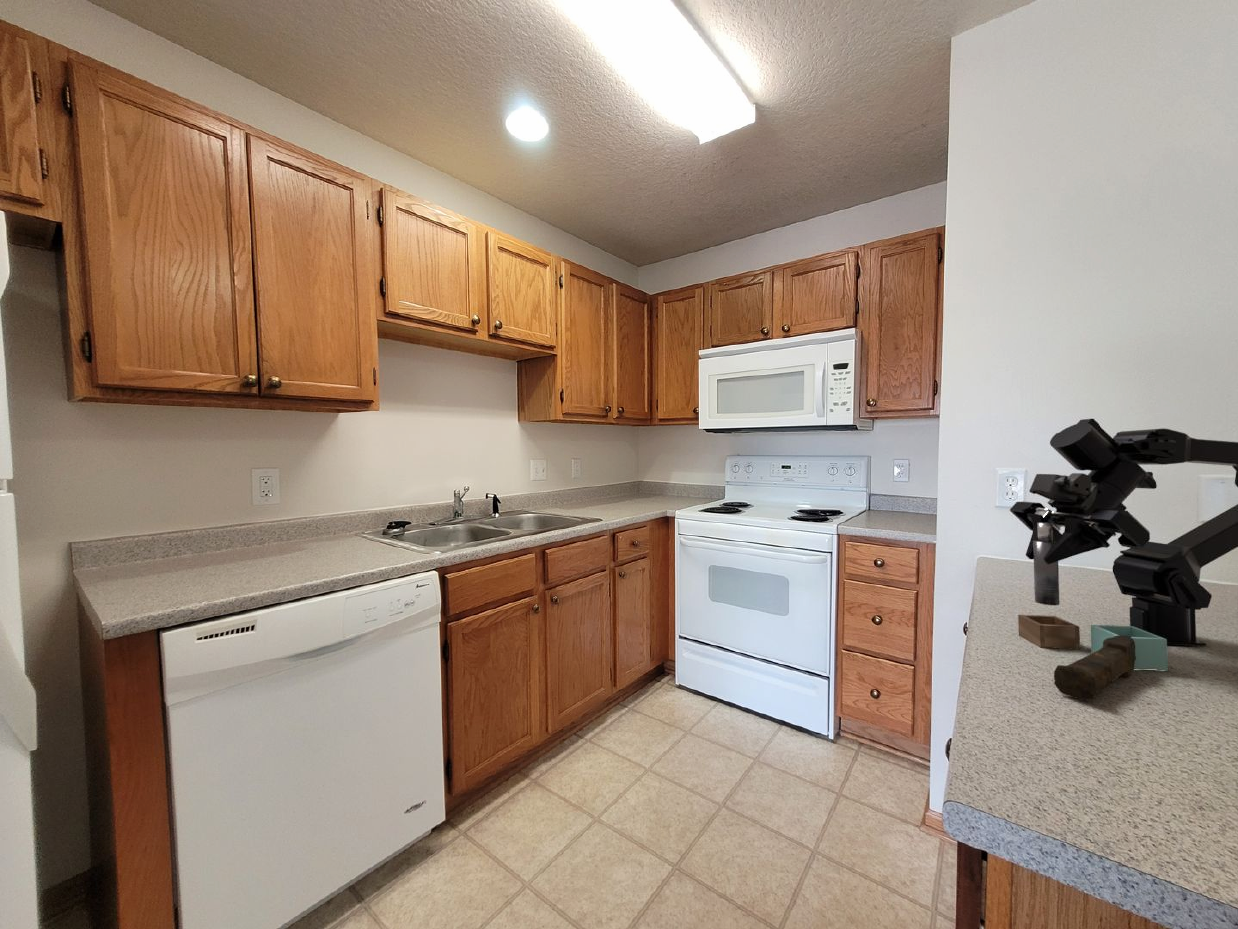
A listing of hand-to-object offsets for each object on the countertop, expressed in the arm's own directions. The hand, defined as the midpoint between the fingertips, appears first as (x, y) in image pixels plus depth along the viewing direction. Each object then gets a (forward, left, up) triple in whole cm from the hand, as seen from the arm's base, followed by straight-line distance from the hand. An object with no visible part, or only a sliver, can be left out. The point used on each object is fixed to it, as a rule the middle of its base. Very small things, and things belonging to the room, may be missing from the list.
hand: (1037, 559), depth 77 cm
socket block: (-1, 0, -13) cm, 14 cm away
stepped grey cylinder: (-1, 0, -7) cm, 7 cm away
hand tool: (+2, +14, -13) cm, 20 cm away
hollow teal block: (-7, +7, -13) cm, 17 cm away
